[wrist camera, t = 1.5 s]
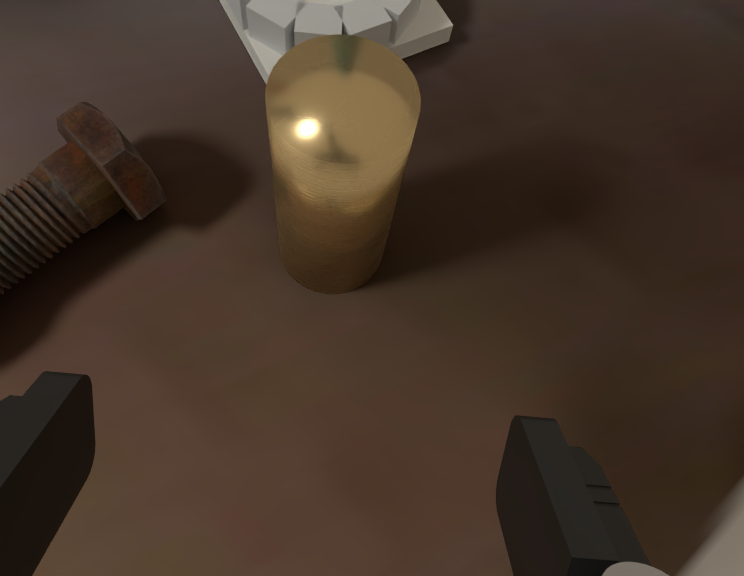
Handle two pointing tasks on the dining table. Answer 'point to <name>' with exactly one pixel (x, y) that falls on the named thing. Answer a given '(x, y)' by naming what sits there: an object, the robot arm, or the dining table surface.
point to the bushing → (338, 155)
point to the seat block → (335, 25)
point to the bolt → (73, 192)
